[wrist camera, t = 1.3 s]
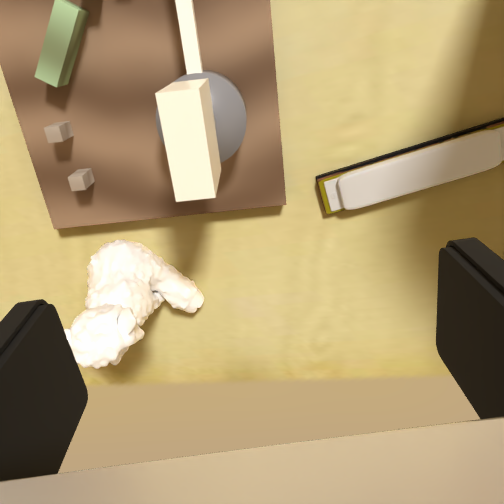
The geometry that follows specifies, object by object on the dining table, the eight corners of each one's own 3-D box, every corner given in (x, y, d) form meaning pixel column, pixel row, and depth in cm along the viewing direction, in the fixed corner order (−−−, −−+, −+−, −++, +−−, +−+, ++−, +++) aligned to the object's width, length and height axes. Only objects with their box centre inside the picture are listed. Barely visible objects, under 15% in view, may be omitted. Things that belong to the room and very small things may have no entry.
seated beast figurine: (113, 332, 41) (64, 439, 30) (61, 253, 37) (-15, 342, 27) (208, 298, 39) (192, 398, 29) (163, 213, 36) (126, 290, 25)
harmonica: (506, 114, 33) (521, 119, 31) (509, 154, 34) (523, 160, 33) (314, 174, 35) (318, 181, 33) (324, 209, 36) (328, 218, 34)
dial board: (-26, -54, 28) (-61, -66, 25) (261, -93, 27) (263, -109, 24) (61, 221, 36) (43, 239, 33) (284, 198, 35) (288, 214, 32)
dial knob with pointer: (250, 150, 32) (251, 197, 22) (172, 158, 32) (141, 209, 23) (226, -68, 26) (214, -125, 17) (132, -56, 26) (69, -105, 17)
